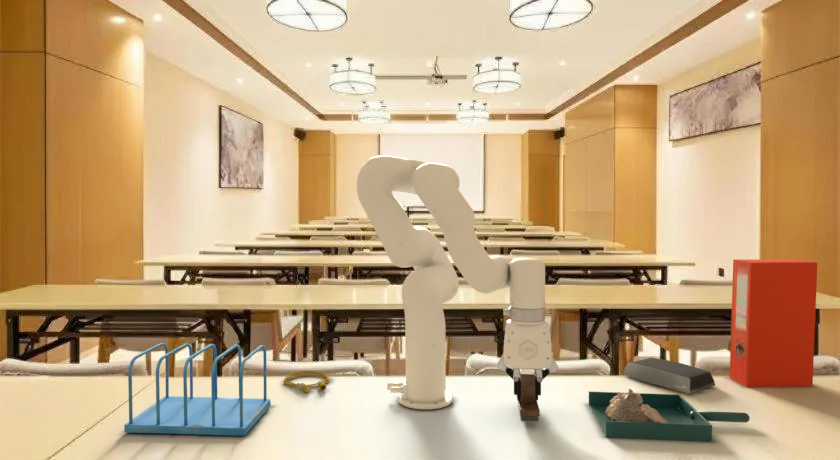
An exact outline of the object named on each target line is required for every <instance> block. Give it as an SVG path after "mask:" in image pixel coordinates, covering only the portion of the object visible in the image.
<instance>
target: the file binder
mask: <svg viewBox="0 0 840 460" xmlns="http://www.w3.org/2000/svg"><path fill="white" fill-rule="evenodd" d="M817 281H818V262H817V261H810V260H804V259H797V258H796V259H795V258H792V259H790V258H789V259H787V258H783V259H779V258H778V259H776V258H775V259H774V258H773V259H770V258H768V259H766V258H765V259H763V258H762V259H761V258H759V259H757V258H756V259H754V258H753V259H733V260H732V285H731V286H732V287H731V288H732V291H731V317H730V319H731V321H730V322H731V323H730V349H729V350H730V352H729V359H730V360H729V378H730V379H731V380H733V381H735V382H736V383H738V384H740V385H742V386H744V387H746V388H763V387H764V388H769V387H770V388H771V387H772V388H773V387H777V388H778V387H780V388H781V387H784V388H785V387H812V386H813V382H814V362H815V361H814V358H815V334H816V331H815V330H816V308H817V283H818V282H817Z"/></svg>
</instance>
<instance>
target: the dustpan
mask: <svg viewBox="0 0 840 460" xmlns="http://www.w3.org/2000/svg"><path fill="white" fill-rule="evenodd" d="M622 393H623V394H624V393H626V394H628V392H622ZM639 393H640V396H641V397H642V400H643V402H642V404H645V405H649V406H650V408H653V409H655V410H657V411H658V413H659V414H660V416H661V417H662V418H665V420H666V421H667V422H668V423H651V422H625V421H616V420H613V421H611V420H612V419H611V417H608V415H607V413H605V411H606V410H607V408H608V406H609V405H610V401H611V399H613V398H614V396H617V394H618V393H617V391H615V392H613V391H588V407H589V408H590V410H591V412H592V414H593V416H594V418H595V419H596V422H597V423H598V425H599V427H600V429H601V431H602V433H603V435H604V437H605V438H617V439H618V438H619V439H642V440H643V439H645V440H665V441H666V440H667V441H689V442H690V441H691V442H692V441H693V442H710V441H713V425H712V423H710V422H721V423H743V424H744V423H746V424H747V423H748V422H750V420H751V418H750V415H749V414H748V413H746V412H741V411H740V412H737V411H736V412H735V411H711V410H709V411H707V410H697V409H696V407H694V406H693V405H692V404H690V402H688V401H687V400H686V399H685V398H684V396H682V394H677V393H676V394H674V393H673V394H672V393H646V392H644V393H643V392H639ZM639 406H641V404H640V405H639Z"/></svg>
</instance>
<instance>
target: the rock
mask: <svg viewBox="0 0 840 460" xmlns="http://www.w3.org/2000/svg"><path fill="white" fill-rule="evenodd" d="M616 392H617V391H616ZM617 393H618V394H617V396H614V398H613V399H611V401H610V405H609V406H608V408H607V410H606V411H605V413H607V415H608V417H611V419H612V420H611V421H613V420H616V421H625V422H651V423H668V422H667V421H666V420H665V418H662V417H661V416H660V414H659V413H658V411H657V410H655V409H653V408H650V406H649V405H645V404H642V402H643V400H642V397H641V396H640V393H641V392H634V391H633V389H631V388H628V392H620V391H618V392H617ZM623 393H624V394H623ZM626 393H628V394H626ZM640 404H641V406H639V405H640Z"/></svg>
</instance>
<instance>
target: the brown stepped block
mask: <svg viewBox="0 0 840 460" xmlns="http://www.w3.org/2000/svg"><path fill="white" fill-rule="evenodd" d="M535 376H536V373H535V369H520V371H519V377H520V381H521V399H520V400H518V399H517V398H516V401H517V407H518V411H519V417H520V421H521V422H539V420H540V419H539V417H540V415H541V412H540V407H539V403H538V400H535ZM515 396H516V397H517V395H515Z"/></svg>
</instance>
